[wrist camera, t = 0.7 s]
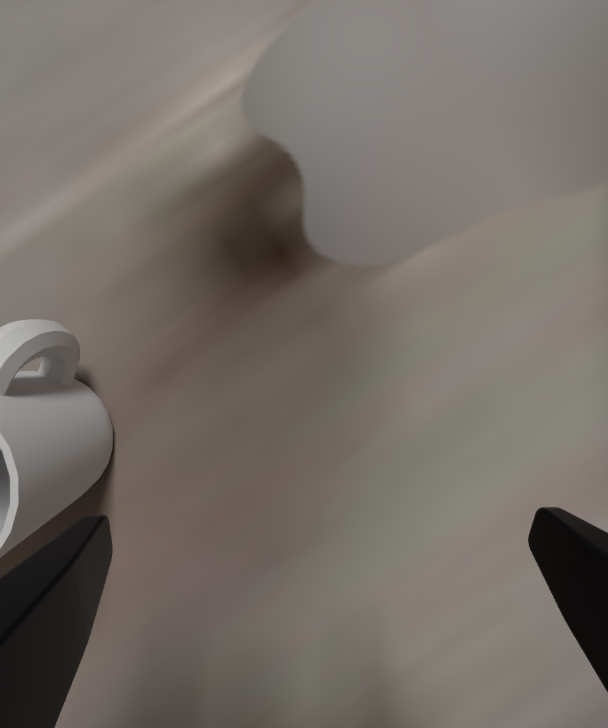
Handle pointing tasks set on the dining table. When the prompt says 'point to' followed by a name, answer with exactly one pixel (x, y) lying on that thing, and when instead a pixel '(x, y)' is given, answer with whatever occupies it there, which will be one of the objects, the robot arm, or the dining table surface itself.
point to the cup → (45, 429)
